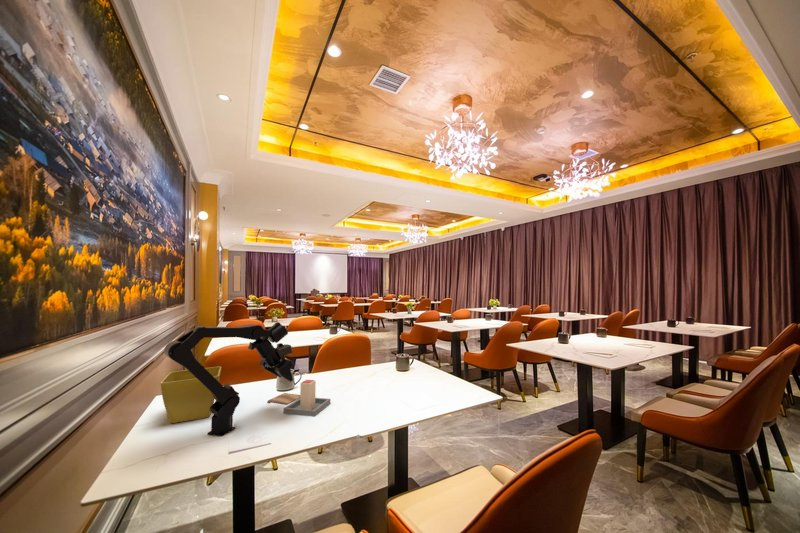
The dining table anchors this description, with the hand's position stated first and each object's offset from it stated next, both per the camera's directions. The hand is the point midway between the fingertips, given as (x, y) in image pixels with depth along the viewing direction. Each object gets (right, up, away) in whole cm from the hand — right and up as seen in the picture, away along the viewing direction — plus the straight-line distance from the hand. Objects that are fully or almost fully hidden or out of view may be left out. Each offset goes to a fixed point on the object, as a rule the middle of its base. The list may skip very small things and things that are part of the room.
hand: (286, 378), depth 130 cm
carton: (+9, -13, +1) cm, 16 cm away
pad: (-5, -14, +12) cm, 19 cm away
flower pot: (-37, -14, -4) cm, 40 cm away
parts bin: (+9, -13, +1) cm, 16 cm away
